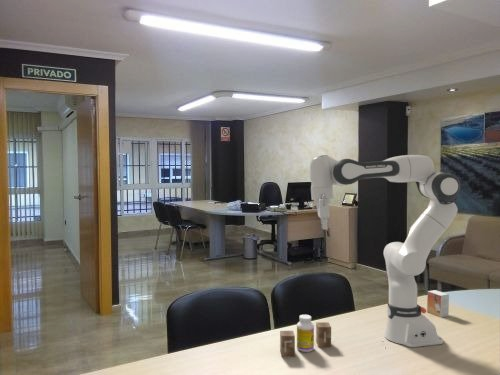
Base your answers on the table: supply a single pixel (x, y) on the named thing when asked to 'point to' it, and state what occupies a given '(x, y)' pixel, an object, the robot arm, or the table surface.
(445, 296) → the small box
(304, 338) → the supplement bottle
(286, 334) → the walnut block seven
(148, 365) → the table surface
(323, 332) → the walnut block one
